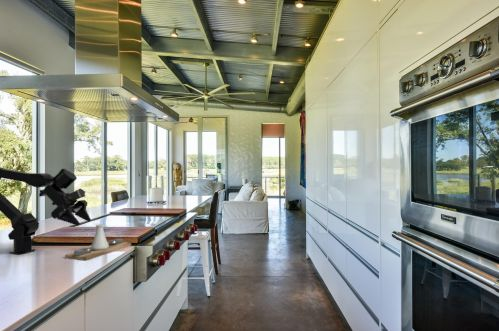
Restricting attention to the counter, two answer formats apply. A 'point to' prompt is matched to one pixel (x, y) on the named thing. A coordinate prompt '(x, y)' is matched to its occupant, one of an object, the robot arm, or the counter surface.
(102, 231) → the flask
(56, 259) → the counter surface
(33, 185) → the robot arm
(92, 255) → the tan board
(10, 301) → the counter surface
